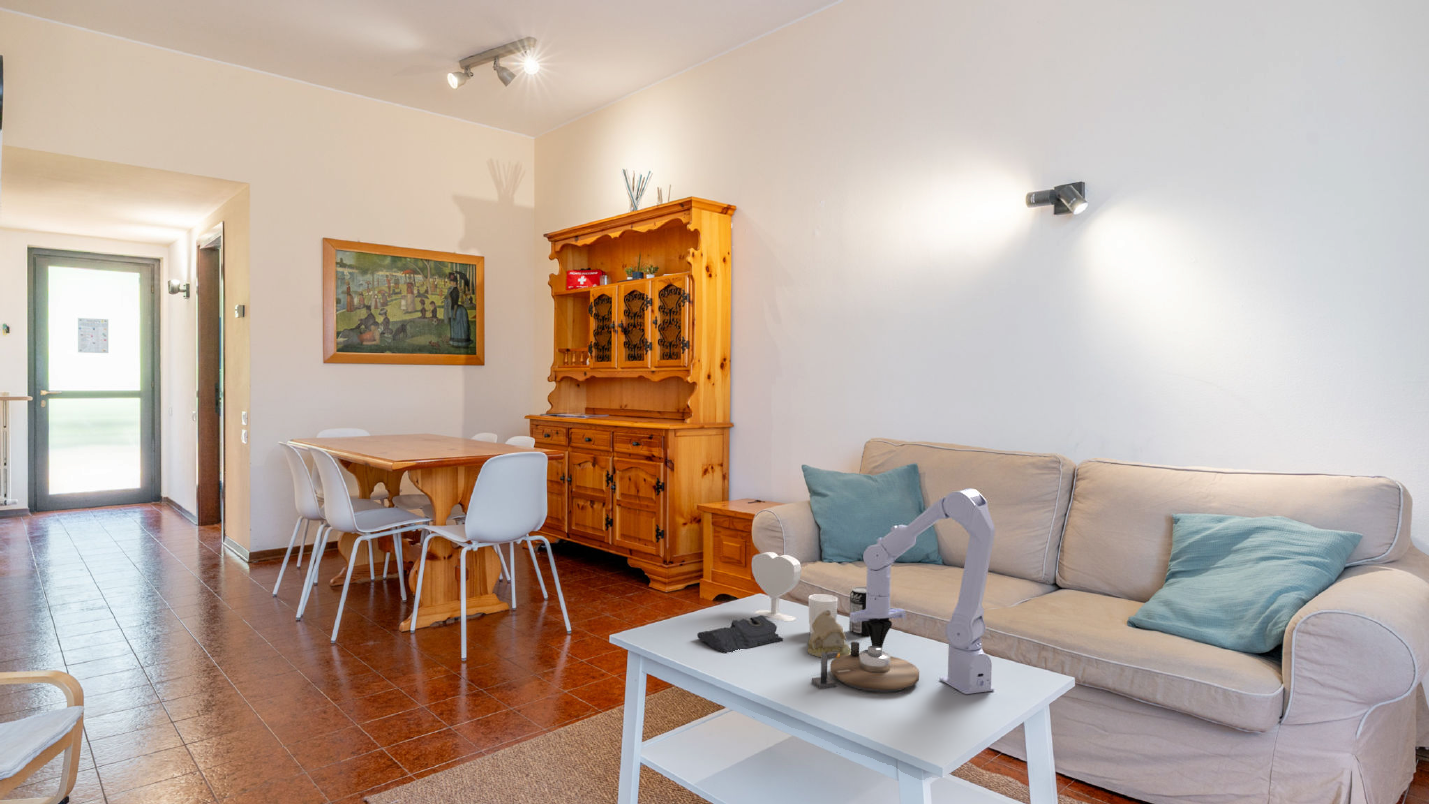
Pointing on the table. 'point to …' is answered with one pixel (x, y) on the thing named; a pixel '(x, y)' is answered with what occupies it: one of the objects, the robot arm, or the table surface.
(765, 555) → the heart sculpture
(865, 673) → the turntable
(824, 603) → the white cup
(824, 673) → the grey bent lever
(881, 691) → the turntable base
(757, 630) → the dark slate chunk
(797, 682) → the table surface
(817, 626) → the ceramic model
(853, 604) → the beverage can
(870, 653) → the cover
